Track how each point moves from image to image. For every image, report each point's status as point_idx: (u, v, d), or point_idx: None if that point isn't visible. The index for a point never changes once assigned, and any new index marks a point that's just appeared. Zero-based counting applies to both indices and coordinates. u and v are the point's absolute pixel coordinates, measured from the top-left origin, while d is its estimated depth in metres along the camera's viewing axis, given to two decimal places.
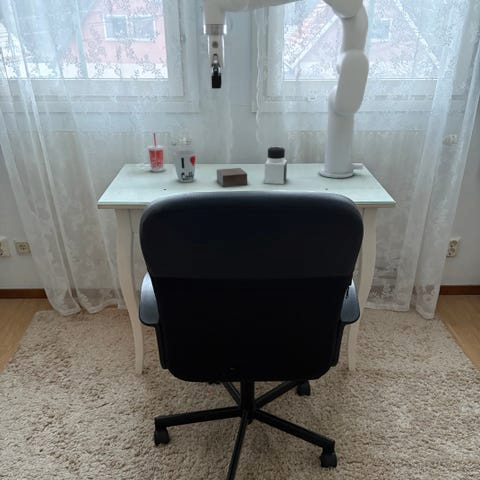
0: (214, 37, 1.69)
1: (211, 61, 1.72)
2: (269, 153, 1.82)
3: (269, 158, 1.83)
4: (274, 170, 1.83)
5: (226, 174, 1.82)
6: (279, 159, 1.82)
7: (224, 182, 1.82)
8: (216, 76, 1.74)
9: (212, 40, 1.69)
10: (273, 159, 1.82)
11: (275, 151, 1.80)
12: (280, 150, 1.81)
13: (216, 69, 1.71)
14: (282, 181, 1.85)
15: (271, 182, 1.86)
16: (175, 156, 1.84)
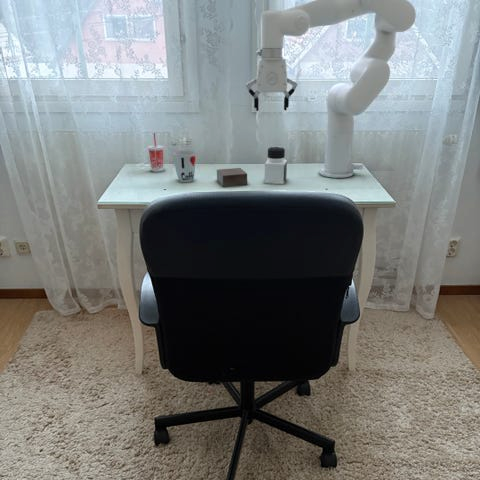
0: (258, 60, 1.70)
1: None
2: (269, 153, 1.82)
3: (269, 158, 1.83)
4: (274, 170, 1.83)
5: (226, 174, 1.82)
6: (279, 159, 1.82)
7: (224, 182, 1.82)
8: (254, 99, 1.75)
9: None
10: (273, 159, 1.82)
11: (275, 151, 1.80)
12: (280, 150, 1.81)
13: None
14: (282, 181, 1.85)
15: (271, 182, 1.86)
16: (175, 156, 1.84)
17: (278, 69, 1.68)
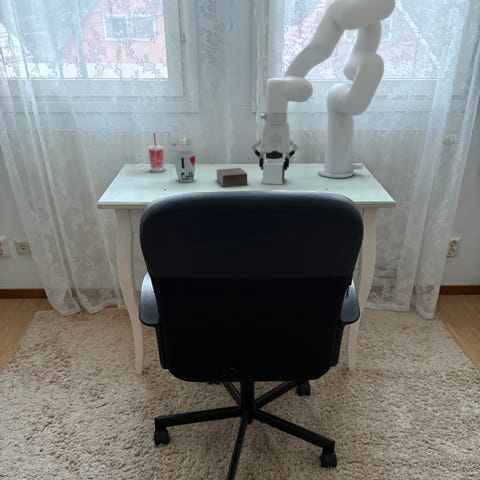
0: None
1: (260, 143, 1.83)
2: (267, 153, 1.82)
3: (267, 158, 1.83)
4: (272, 170, 1.83)
5: (226, 174, 1.82)
6: (277, 159, 1.82)
7: (224, 182, 1.82)
8: (259, 159, 1.84)
9: None
10: (271, 159, 1.82)
11: (274, 151, 1.80)
12: None
13: None
14: (280, 181, 1.85)
15: (269, 182, 1.85)
16: (175, 156, 1.84)
17: (281, 132, 1.77)
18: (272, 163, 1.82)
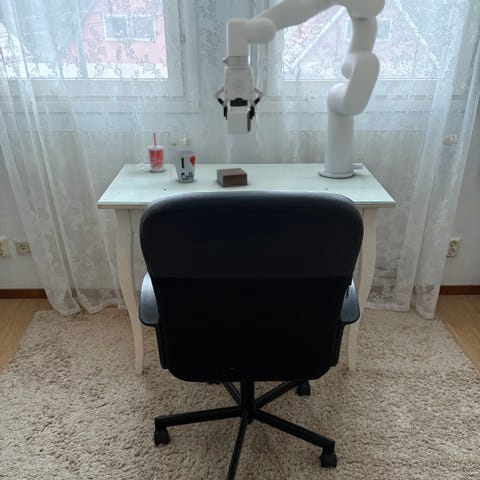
0: None
1: None
2: (231, 101, 1.72)
3: (231, 106, 1.73)
4: (237, 119, 1.74)
5: (226, 174, 1.82)
6: (242, 107, 1.72)
7: (224, 182, 1.82)
8: (223, 107, 1.75)
9: None
10: (235, 107, 1.72)
11: (237, 98, 1.71)
12: None
13: None
14: (246, 131, 1.75)
15: (234, 132, 1.76)
16: (175, 156, 1.84)
17: (244, 77, 1.68)
18: (236, 111, 1.73)
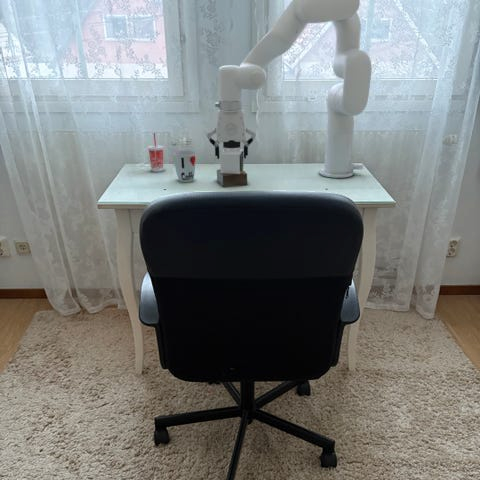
0: (217, 112, 1.76)
1: None
2: (224, 142, 1.79)
3: (224, 148, 1.80)
4: (230, 160, 1.80)
5: (226, 174, 1.82)
6: (234, 148, 1.79)
7: (224, 182, 1.82)
8: (215, 147, 1.81)
9: None
10: (228, 149, 1.79)
11: (230, 140, 1.77)
12: None
13: (209, 140, 1.80)
14: (238, 171, 1.82)
15: (227, 172, 1.83)
16: (175, 156, 1.84)
17: (236, 120, 1.74)
18: (229, 152, 1.80)
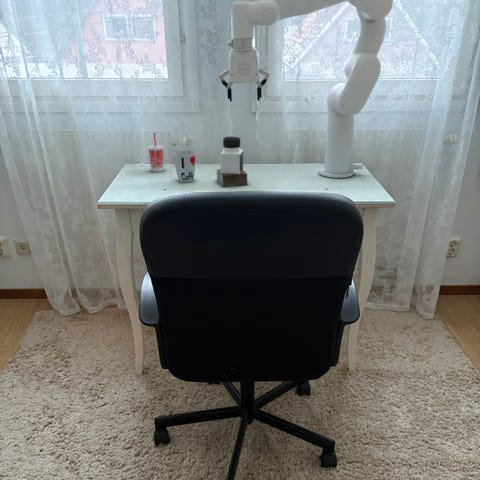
0: None
1: None
2: (224, 142, 1.79)
3: (224, 148, 1.80)
4: (230, 160, 1.80)
5: (226, 174, 1.82)
6: (234, 148, 1.79)
7: (224, 182, 1.82)
8: (227, 89, 1.77)
9: None
10: (228, 149, 1.79)
11: (230, 140, 1.77)
12: (235, 139, 1.78)
13: None
14: (238, 171, 1.82)
15: (227, 172, 1.83)
16: (175, 156, 1.84)
17: (250, 59, 1.70)
18: (229, 152, 1.80)
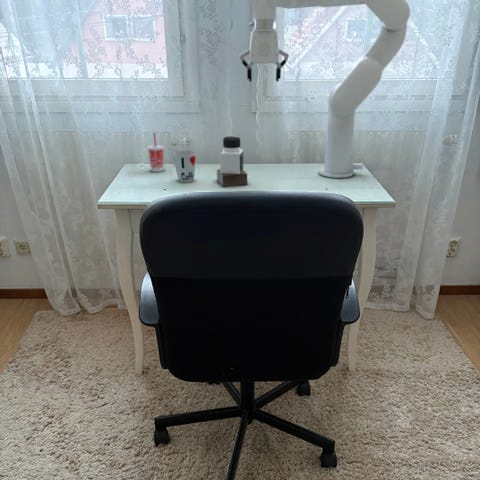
0: (251, 32, 1.76)
1: None
2: (224, 142, 1.79)
3: (224, 148, 1.80)
4: (230, 160, 1.80)
5: (226, 174, 1.82)
6: (234, 148, 1.79)
7: (224, 182, 1.82)
8: (247, 70, 1.82)
9: None
10: (228, 148, 1.79)
11: (231, 140, 1.78)
12: (235, 139, 1.78)
13: (242, 62, 1.80)
14: (238, 171, 1.82)
15: (227, 172, 1.83)
16: (175, 156, 1.84)
17: (270, 40, 1.75)
18: (229, 152, 1.80)
